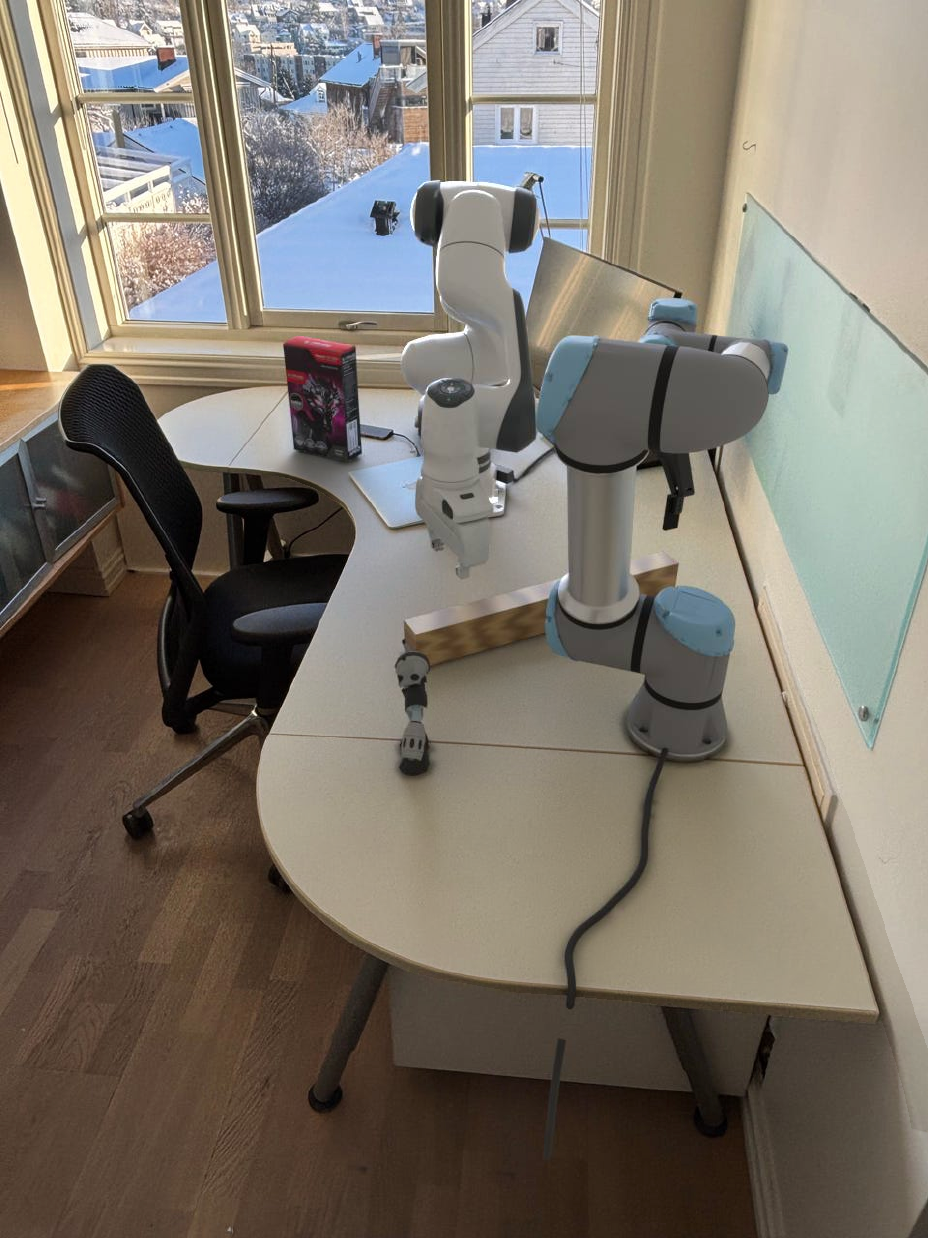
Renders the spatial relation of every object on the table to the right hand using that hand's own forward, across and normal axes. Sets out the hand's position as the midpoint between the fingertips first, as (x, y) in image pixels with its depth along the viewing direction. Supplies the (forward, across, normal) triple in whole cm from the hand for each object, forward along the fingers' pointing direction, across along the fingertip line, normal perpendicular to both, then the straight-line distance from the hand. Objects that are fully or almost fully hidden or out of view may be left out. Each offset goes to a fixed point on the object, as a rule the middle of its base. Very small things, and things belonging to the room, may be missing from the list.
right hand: (646, 513), depth 164 cm
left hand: (+1, -1, -39) cm, 39 cm away
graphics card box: (+17, -90, -29) cm, 96 cm away
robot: (+20, +21, -55) cm, 62 cm away
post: (+19, -1, -19) cm, 27 cm away
